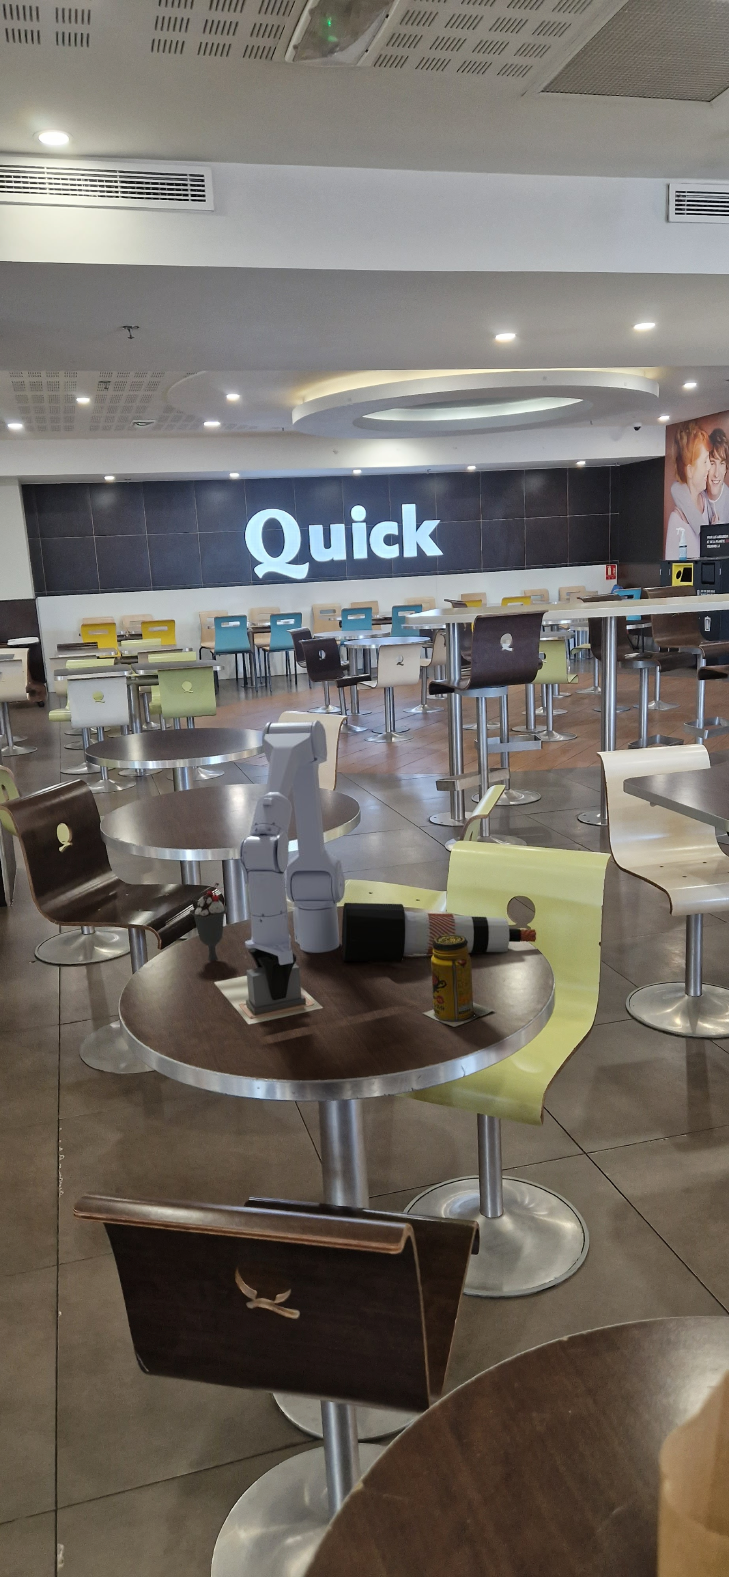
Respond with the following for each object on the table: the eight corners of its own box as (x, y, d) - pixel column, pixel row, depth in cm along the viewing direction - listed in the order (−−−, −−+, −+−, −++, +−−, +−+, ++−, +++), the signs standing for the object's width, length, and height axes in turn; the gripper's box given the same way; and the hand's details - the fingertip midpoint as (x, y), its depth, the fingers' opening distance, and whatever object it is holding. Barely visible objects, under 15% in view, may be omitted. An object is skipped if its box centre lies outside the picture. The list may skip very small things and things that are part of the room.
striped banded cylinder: (534, 976, 179) (545, 936, 173) (343, 973, 176) (347, 931, 170) (524, 935, 187) (534, 895, 181) (341, 931, 184) (344, 890, 178)
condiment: (421, 1014, 154) (417, 939, 152) (462, 999, 159) (459, 926, 157) (453, 1028, 148) (450, 950, 146) (495, 1012, 153) (492, 936, 151)
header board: (214, 987, 170) (211, 959, 169) (281, 973, 175) (279, 946, 174) (249, 1030, 152) (246, 999, 151) (323, 1013, 156) (321, 983, 156)
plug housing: (248, 1000, 158) (246, 970, 157) (294, 990, 161) (292, 961, 160) (255, 1007, 155) (252, 976, 154) (301, 997, 158) (299, 967, 157)
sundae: (238, 964, 181) (231, 883, 178) (204, 973, 177) (197, 891, 174) (222, 954, 186) (215, 876, 183) (188, 963, 182) (181, 883, 180)
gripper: (230, 903, 161) (237, 984, 163) (258, 928, 148) (265, 1015, 150) (272, 896, 163) (278, 976, 166) (303, 919, 150) (309, 1005, 153)
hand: (275, 994), depth 158 cm, fingers closed on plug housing, 3 cm apart
